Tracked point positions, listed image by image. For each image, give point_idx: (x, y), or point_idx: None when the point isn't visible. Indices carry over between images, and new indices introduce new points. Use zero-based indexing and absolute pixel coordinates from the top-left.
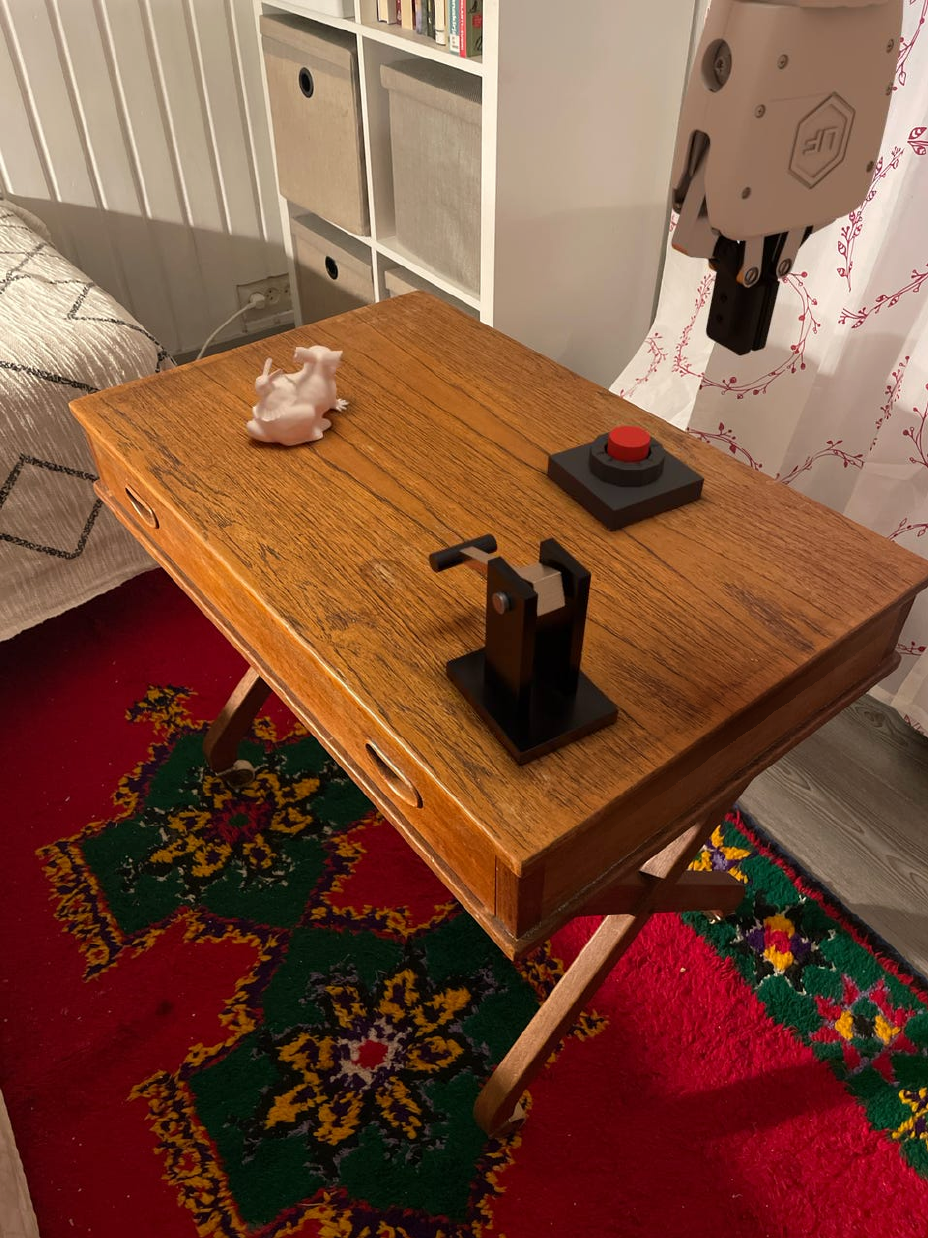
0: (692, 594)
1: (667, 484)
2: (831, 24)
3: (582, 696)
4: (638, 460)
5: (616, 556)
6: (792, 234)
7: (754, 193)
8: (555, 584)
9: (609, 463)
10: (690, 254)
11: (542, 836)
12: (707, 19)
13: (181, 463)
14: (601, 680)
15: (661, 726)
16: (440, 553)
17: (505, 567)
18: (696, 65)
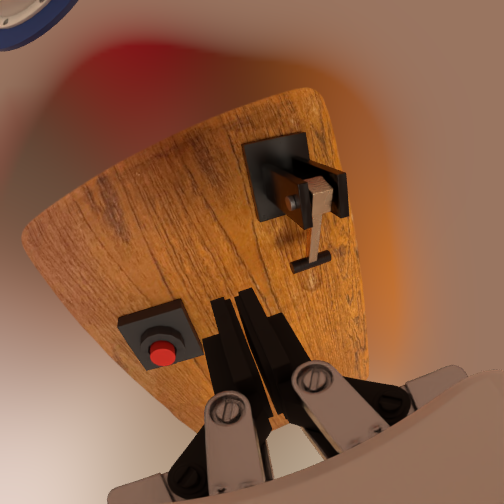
0: (151, 237)
1: (141, 325)
2: None
3: (259, 160)
4: (158, 341)
5: (185, 277)
6: (244, 467)
7: None
8: (315, 188)
9: (177, 340)
10: (450, 368)
11: (306, 90)
12: None
13: (355, 353)
14: (235, 177)
15: (217, 134)
16: (327, 258)
17: (343, 206)
18: None
